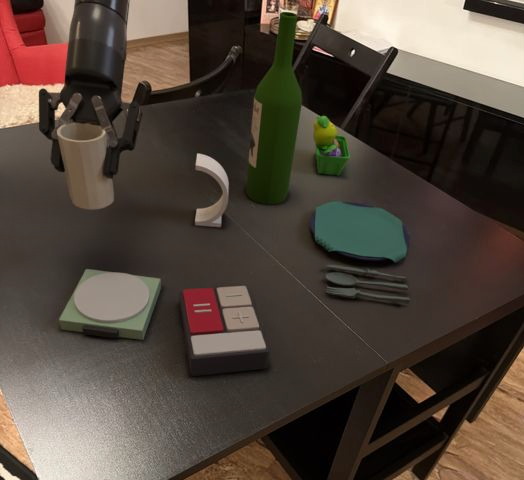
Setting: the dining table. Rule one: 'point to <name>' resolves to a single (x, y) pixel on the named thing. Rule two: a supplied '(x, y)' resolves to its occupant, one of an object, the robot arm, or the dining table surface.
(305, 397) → the dining table surface
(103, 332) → the scale
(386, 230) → the cutlery set
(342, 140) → the fruit basket
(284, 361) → the dining table surface
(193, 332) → the calculator
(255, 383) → the dining table surface
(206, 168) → the headphone stand
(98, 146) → the cream cup
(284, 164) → the wine bottle
